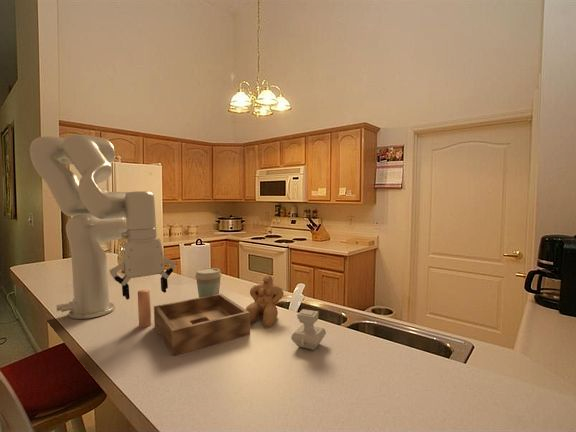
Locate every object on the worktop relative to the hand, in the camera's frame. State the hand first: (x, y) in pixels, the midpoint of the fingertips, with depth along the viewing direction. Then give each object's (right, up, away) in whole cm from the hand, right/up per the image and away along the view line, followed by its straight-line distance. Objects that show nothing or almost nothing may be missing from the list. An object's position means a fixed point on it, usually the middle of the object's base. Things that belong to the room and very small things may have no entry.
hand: (146, 294), depth 91 cm
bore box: (+16, -9, -3) cm, 19 cm away
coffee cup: (+14, -8, +17) cm, 23 cm away
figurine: (+33, -9, +5) cm, 35 cm away
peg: (-1, -9, +1) cm, 9 cm away
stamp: (+46, -10, -12) cm, 48 cm away
